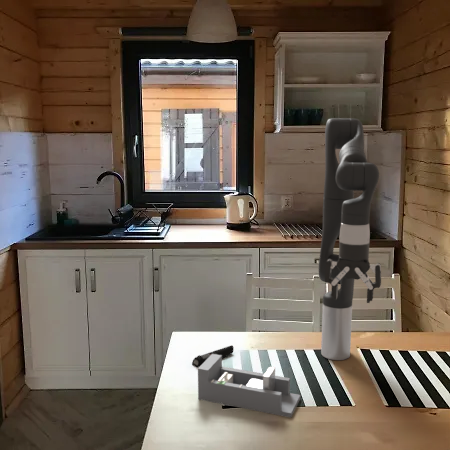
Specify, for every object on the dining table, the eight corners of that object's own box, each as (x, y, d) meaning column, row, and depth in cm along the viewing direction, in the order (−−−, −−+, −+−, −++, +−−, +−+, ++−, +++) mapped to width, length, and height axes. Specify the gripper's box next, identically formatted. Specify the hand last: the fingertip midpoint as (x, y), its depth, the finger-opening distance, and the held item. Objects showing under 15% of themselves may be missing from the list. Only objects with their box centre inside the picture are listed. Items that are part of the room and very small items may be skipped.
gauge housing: (212, 382, 156) (212, 353, 154) (300, 399, 146) (301, 368, 145) (198, 399, 147) (197, 368, 145) (291, 417, 137) (291, 385, 136)
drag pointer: (226, 384, 152) (226, 367, 151) (233, 386, 151) (233, 368, 150) (215, 398, 144) (215, 380, 143) (222, 399, 144) (222, 381, 143)
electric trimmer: (236, 355, 175) (236, 346, 174) (198, 369, 165) (198, 359, 164) (228, 352, 178) (229, 343, 177) (191, 365, 168) (191, 355, 167)
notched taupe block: (251, 389, 149) (252, 363, 148) (274, 393, 147) (275, 367, 145) (244, 399, 144) (244, 373, 142) (268, 404, 141) (268, 377, 140)
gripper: (384, 239, 139) (381, 299, 142) (329, 235, 144) (327, 293, 147) (381, 245, 132) (378, 308, 135) (324, 241, 137) (322, 301, 140)
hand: (351, 300), depth 141 cm, fingers open, 8 cm apart
